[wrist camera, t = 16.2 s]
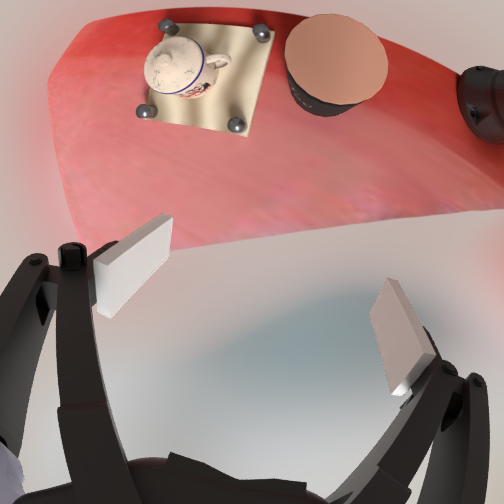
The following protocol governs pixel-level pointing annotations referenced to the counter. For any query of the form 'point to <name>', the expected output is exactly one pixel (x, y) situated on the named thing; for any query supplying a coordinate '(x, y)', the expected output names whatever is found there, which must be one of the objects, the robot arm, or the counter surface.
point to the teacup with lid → (183, 68)
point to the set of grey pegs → (172, 29)
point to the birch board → (219, 79)
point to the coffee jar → (333, 64)
